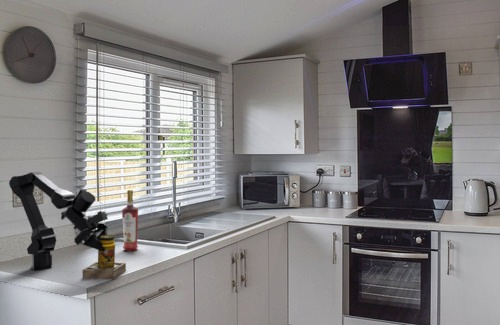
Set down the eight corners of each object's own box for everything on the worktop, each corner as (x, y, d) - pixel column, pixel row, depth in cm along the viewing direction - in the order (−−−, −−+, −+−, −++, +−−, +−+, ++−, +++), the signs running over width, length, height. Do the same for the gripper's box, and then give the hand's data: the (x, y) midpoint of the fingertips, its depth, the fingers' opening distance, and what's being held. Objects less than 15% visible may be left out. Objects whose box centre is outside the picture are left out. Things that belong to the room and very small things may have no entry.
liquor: (120, 251, 205) (119, 190, 204) (124, 248, 213) (124, 189, 212) (136, 251, 205) (135, 190, 204) (140, 248, 213) (139, 189, 212)
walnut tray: (82, 277, 165) (82, 269, 165) (96, 269, 176) (95, 262, 176) (114, 278, 164) (114, 270, 164) (125, 270, 175) (125, 262, 175)
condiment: (108, 271, 166) (108, 239, 165) (88, 267, 168) (89, 236, 167) (119, 265, 172) (120, 235, 171) (100, 262, 175) (101, 232, 174)
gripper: (81, 207, 160) (112, 238, 159) (104, 201, 178) (131, 229, 178) (61, 229, 161) (91, 260, 160) (85, 221, 180) (112, 248, 179)
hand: (108, 248), depth 169 cm, fingers closed on condiment, 6 cm apart
